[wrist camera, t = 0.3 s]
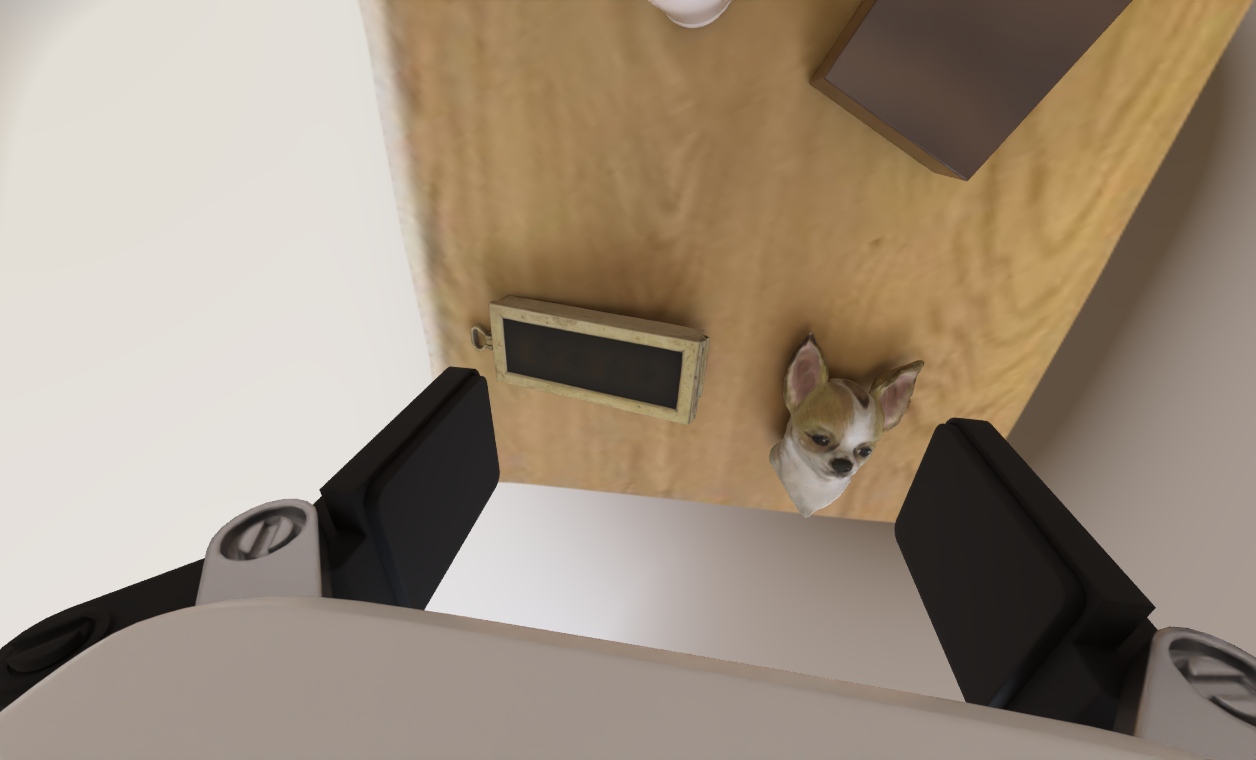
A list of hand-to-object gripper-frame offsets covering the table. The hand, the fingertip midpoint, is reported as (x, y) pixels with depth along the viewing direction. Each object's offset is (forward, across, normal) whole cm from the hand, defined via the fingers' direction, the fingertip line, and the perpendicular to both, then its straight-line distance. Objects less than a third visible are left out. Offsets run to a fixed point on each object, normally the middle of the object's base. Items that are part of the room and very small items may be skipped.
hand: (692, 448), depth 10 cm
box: (+31, +10, +12) cm, 35 cm away
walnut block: (+31, -13, -10) cm, 35 cm away
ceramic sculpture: (+31, -12, +17) cm, 37 cm away
